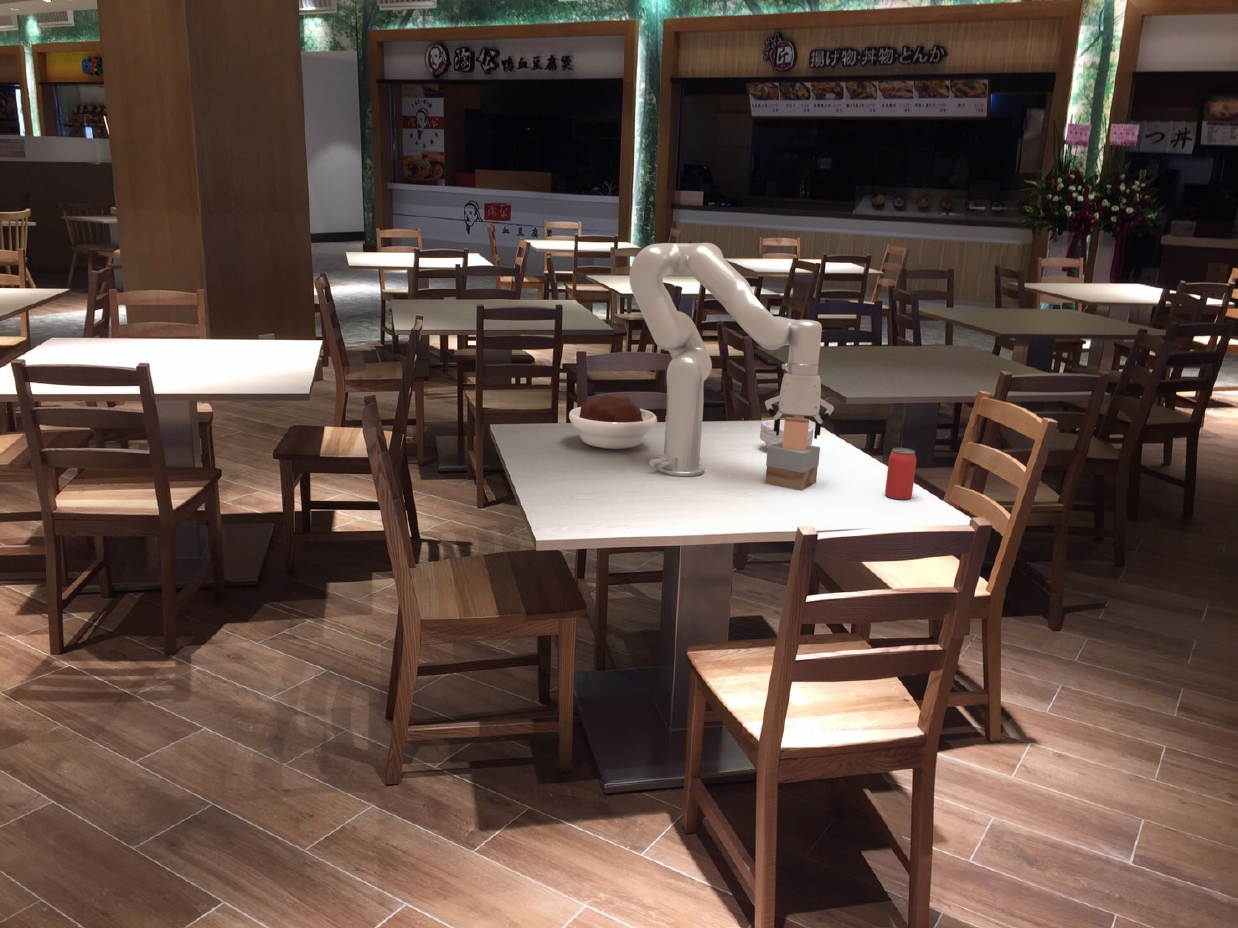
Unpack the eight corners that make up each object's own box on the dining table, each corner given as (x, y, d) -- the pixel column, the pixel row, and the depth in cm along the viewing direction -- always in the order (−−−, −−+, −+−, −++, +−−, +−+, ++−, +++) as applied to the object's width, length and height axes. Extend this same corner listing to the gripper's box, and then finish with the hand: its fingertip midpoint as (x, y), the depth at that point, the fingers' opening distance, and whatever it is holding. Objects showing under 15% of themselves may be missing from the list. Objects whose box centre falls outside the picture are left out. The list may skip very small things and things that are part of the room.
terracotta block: (782, 448, 260) (784, 421, 258) (783, 443, 266) (785, 417, 264) (806, 450, 259) (808, 423, 257) (806, 445, 265) (809, 419, 263)
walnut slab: (801, 491, 259) (803, 472, 257) (765, 484, 264) (766, 466, 262) (815, 483, 267) (817, 465, 266) (780, 477, 272) (781, 458, 271)
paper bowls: (822, 454, 298) (824, 427, 296) (783, 459, 290) (786, 432, 288) (786, 443, 310) (788, 417, 309) (748, 447, 302) (750, 421, 300)
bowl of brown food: (610, 432, 313) (613, 383, 309) (672, 448, 296) (675, 397, 293) (550, 443, 296) (551, 391, 292) (611, 461, 279) (614, 406, 275)
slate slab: (801, 472, 257) (803, 453, 256) (766, 465, 263) (767, 446, 262) (818, 465, 265) (820, 446, 264) (783, 458, 271) (785, 440, 270)
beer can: (882, 492, 261) (887, 446, 258) (908, 493, 261) (913, 448, 258) (887, 499, 254) (893, 452, 251) (914, 501, 254) (920, 454, 251)
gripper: (767, 369, 255) (761, 436, 260) (837, 374, 252) (830, 442, 257) (768, 365, 262) (763, 430, 267) (837, 370, 259) (830, 436, 264)
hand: (796, 436), depth 262 cm, fingers open, 9 cm apart
